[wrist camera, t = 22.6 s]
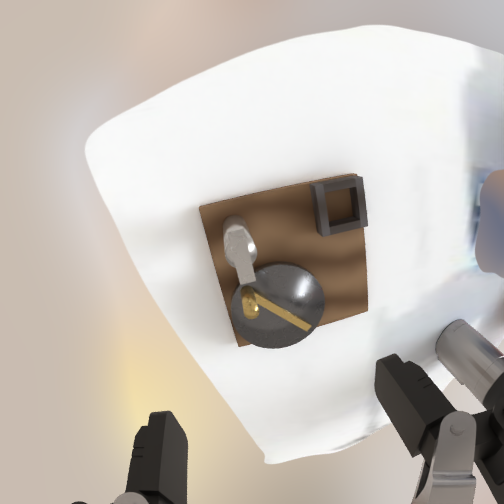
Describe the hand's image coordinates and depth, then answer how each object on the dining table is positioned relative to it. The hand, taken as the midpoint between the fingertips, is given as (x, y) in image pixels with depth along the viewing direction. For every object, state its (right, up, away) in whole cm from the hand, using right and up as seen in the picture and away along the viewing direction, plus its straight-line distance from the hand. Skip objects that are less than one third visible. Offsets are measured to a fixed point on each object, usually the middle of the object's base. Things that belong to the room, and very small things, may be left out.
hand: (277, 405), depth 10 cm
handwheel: (+2, -1, +28) cm, 28 cm away
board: (+5, +4, +29) cm, 30 cm away
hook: (-3, +9, +25) cm, 27 cm away
